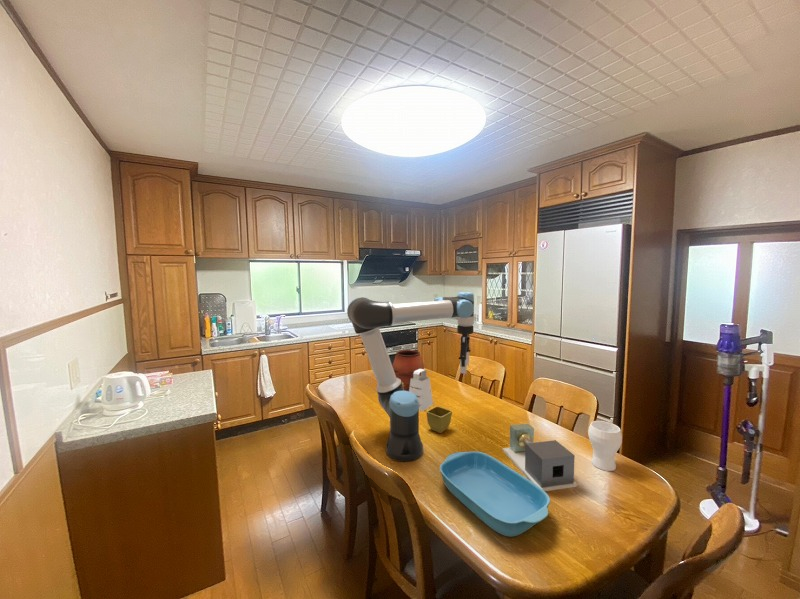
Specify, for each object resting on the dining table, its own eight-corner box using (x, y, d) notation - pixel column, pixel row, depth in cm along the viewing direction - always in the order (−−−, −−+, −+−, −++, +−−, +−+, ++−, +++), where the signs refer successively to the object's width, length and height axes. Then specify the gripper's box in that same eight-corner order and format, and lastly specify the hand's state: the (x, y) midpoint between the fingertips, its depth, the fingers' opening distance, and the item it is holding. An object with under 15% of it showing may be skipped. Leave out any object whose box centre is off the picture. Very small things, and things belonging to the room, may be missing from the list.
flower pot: (452, 429, 151) (452, 410, 150) (441, 436, 144) (441, 417, 144) (437, 423, 157) (437, 405, 156) (425, 430, 150) (425, 411, 150)
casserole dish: (565, 524, 94) (566, 500, 94) (514, 560, 82) (515, 534, 82) (474, 462, 125) (474, 444, 125) (427, 482, 114) (427, 462, 113)
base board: (502, 450, 133) (502, 448, 132) (534, 447, 135) (534, 444, 135) (539, 491, 107) (539, 489, 107) (577, 486, 110) (577, 484, 110)
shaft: (509, 446, 133) (510, 425, 132) (527, 444, 134) (528, 423, 133) (534, 472, 115) (535, 448, 114) (555, 470, 117) (555, 446, 116)
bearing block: (524, 469, 118) (525, 443, 117) (554, 466, 120) (555, 440, 119) (541, 487, 108) (542, 459, 107) (573, 483, 110) (574, 455, 109)
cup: (621, 477, 115) (623, 436, 113) (586, 467, 120) (588, 428, 119) (619, 462, 124) (621, 424, 122) (587, 454, 129) (589, 417, 128)
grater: (406, 407, 177) (406, 371, 175) (417, 400, 185) (417, 366, 183) (423, 411, 170) (422, 374, 169) (433, 405, 179) (433, 369, 177)
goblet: (430, 394, 194) (429, 353, 192) (401, 400, 186) (400, 357, 183) (414, 384, 211) (414, 347, 209) (387, 389, 203) (387, 350, 201)
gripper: (460, 320, 166) (459, 361, 168) (453, 328, 142) (453, 376, 144) (475, 321, 164) (474, 362, 166) (471, 329, 140) (470, 377, 142)
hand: (464, 369), depth 155 cm, fingers open, 13 cm apart
